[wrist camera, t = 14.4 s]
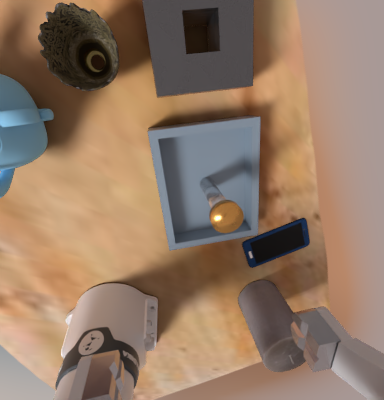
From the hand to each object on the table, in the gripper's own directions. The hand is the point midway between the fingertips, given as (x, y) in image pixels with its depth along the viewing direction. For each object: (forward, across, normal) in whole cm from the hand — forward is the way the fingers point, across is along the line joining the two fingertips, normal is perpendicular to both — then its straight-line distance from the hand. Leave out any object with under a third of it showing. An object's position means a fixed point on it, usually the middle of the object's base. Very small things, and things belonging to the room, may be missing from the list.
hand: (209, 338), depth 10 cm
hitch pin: (+28, +6, -3) cm, 29 cm away
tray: (+29, +6, -3) cm, 30 cm away
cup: (+29, -8, +16) cm, 34 cm away
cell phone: (+30, +20, -19) cm, 40 cm away
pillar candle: (+30, +16, -33) cm, 47 cm away
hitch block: (+29, +5, +17) cm, 34 cm away
